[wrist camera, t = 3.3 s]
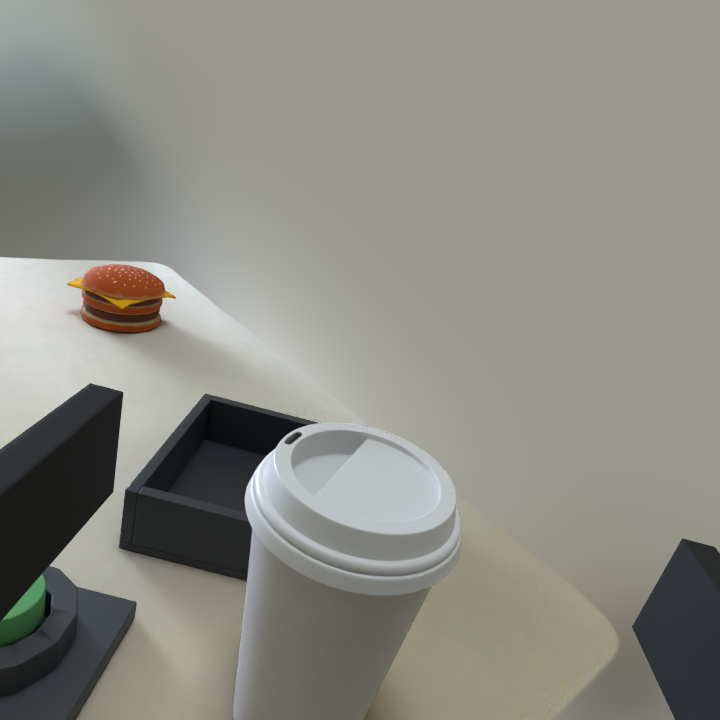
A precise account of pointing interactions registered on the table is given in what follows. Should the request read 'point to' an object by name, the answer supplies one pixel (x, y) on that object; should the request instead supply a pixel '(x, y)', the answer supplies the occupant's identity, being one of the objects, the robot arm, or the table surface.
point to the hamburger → (121, 298)
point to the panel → (62, 652)
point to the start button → (24, 614)
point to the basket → (203, 486)
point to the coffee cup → (337, 568)
